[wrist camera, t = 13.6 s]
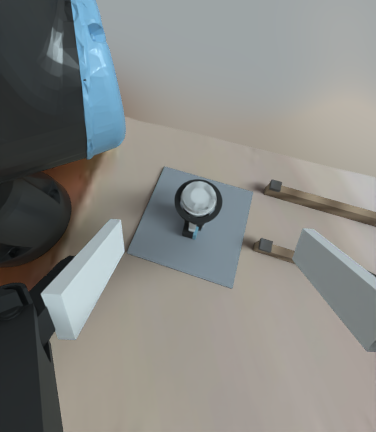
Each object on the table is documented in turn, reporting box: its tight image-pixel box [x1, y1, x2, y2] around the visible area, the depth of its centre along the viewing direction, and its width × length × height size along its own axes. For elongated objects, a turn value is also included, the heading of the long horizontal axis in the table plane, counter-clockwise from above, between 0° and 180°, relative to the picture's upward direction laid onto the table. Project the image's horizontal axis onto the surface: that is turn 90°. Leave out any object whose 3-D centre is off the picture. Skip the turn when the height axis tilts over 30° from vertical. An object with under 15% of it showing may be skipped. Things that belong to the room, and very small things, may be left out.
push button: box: [174, 179, 222, 240], centre depth 24 cm, size 7×5×10 cm
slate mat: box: [127, 167, 253, 288], centre depth 29 cm, size 16×16×1 cm
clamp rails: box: [253, 180, 376, 264], centre depth 28 cm, size 20×12×3 cm, turn 72°
